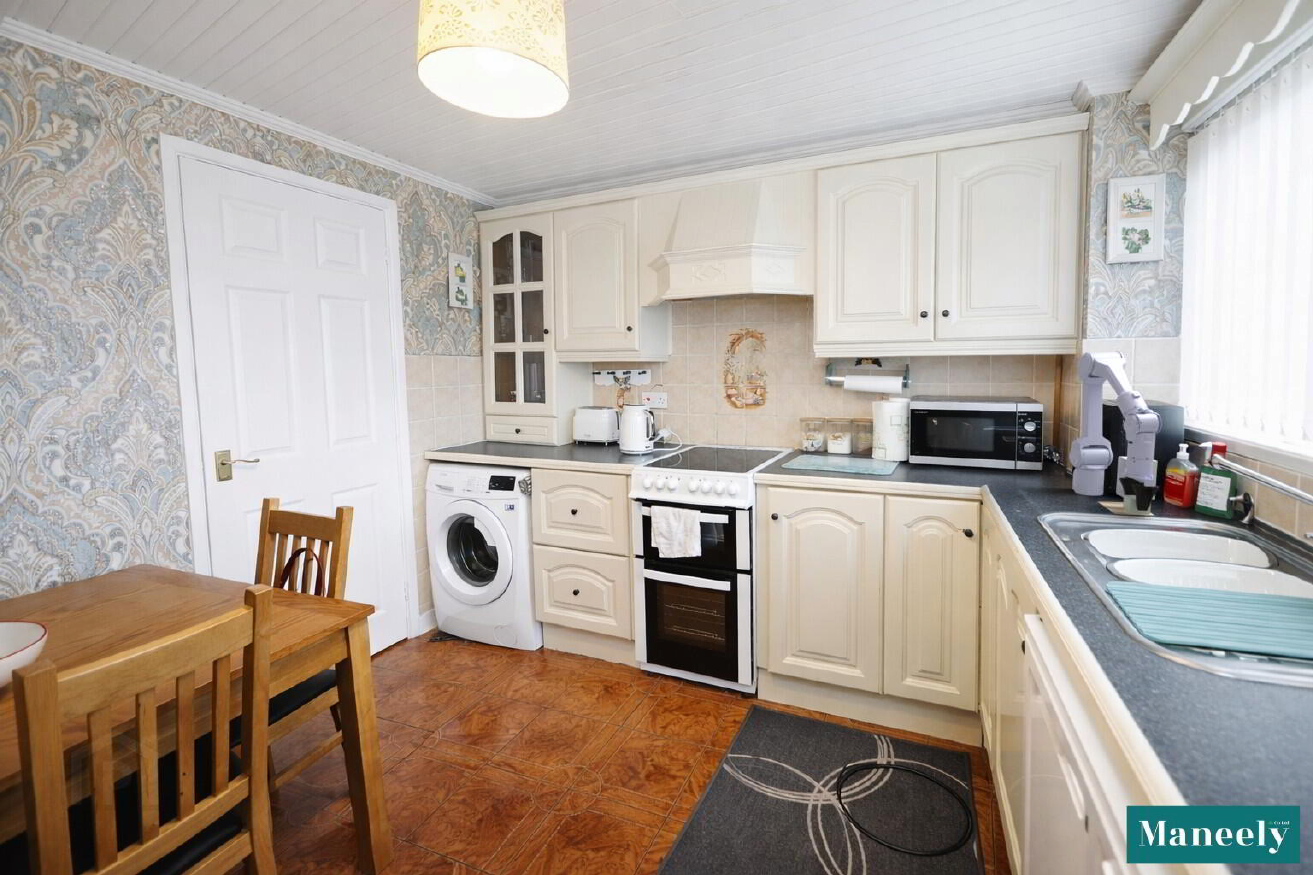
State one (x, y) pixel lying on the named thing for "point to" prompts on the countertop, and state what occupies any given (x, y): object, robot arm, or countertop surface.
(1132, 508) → the pale green block
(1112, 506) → the board
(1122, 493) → the supplement box
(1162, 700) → the countertop surface
